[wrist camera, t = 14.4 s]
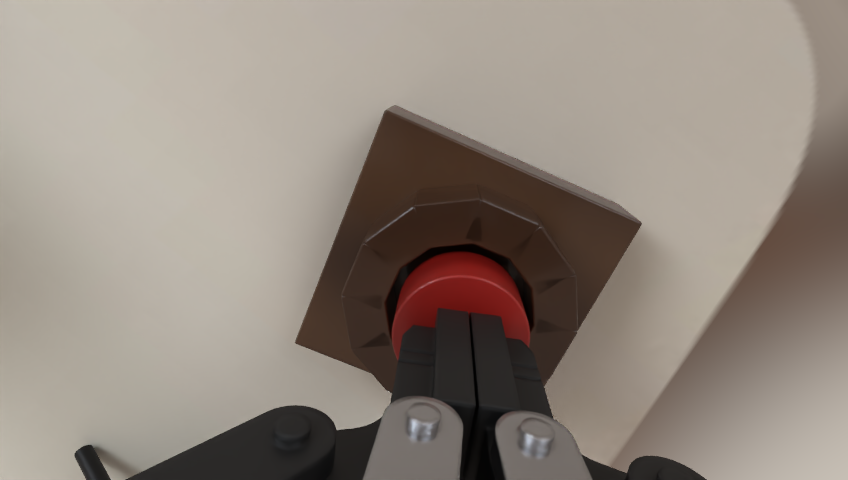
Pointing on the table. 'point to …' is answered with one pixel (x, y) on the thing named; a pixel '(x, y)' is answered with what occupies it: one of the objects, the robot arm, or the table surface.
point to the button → (459, 294)
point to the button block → (459, 241)
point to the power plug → (91, 464)
